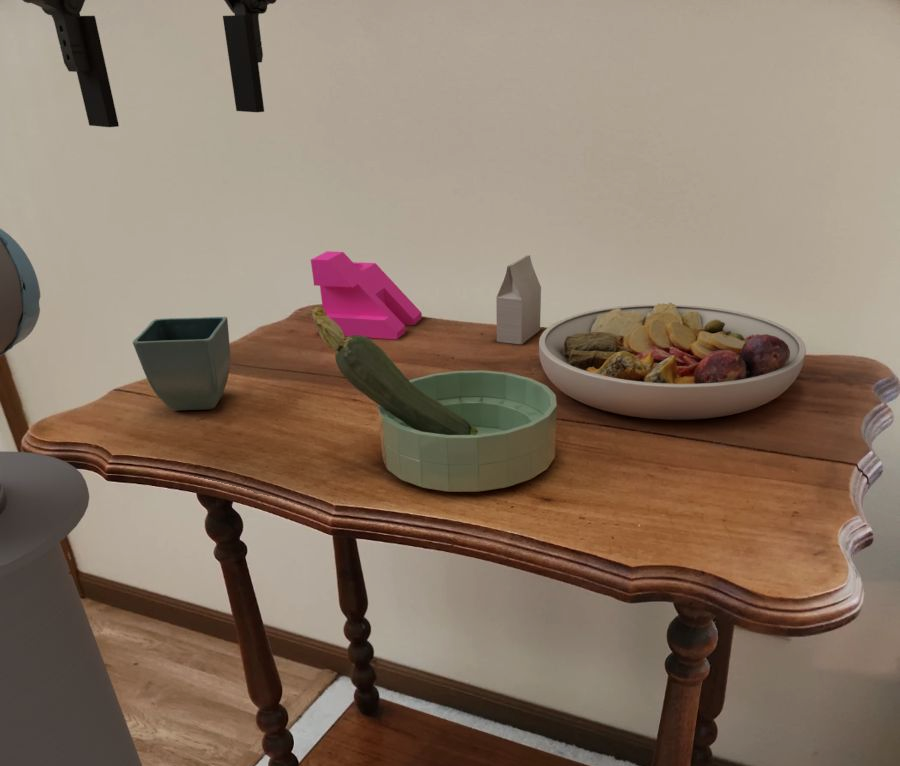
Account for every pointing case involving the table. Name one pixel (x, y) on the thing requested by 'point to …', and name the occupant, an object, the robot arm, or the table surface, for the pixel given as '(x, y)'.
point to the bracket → (362, 297)
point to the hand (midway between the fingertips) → (182, 118)
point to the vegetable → (387, 381)
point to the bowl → (671, 360)
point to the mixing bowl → (497, 441)
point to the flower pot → (186, 360)
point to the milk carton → (518, 303)
